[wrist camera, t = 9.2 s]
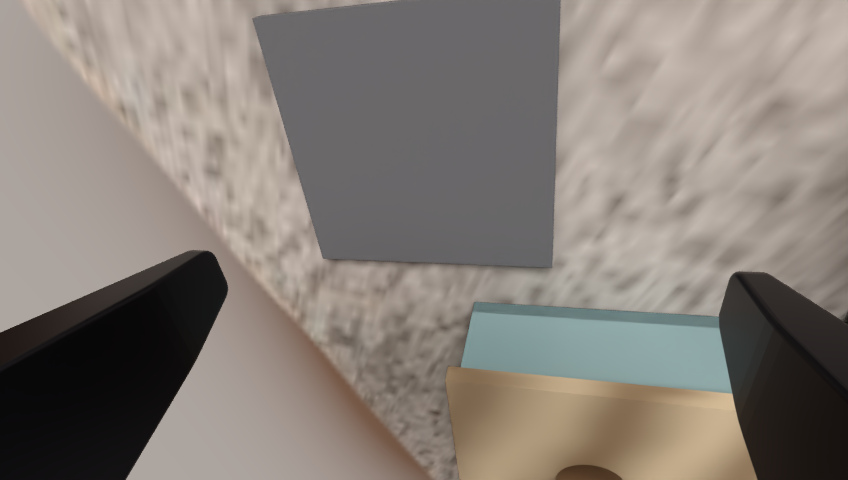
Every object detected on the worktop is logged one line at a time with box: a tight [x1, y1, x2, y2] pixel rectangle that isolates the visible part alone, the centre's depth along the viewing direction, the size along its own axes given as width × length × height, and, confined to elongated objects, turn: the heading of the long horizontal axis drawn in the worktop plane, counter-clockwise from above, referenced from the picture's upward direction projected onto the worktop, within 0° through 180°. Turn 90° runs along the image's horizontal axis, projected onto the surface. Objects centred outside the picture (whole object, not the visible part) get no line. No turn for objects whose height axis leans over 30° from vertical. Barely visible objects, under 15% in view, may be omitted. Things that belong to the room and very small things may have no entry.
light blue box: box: [461, 302, 732, 394], centre depth 25 cm, size 12×12×5 cm
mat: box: [252, 0, 560, 268], centre depth 21 cm, size 12×12×1 cm
